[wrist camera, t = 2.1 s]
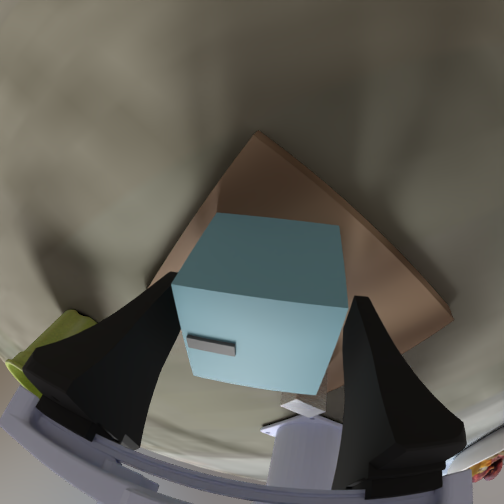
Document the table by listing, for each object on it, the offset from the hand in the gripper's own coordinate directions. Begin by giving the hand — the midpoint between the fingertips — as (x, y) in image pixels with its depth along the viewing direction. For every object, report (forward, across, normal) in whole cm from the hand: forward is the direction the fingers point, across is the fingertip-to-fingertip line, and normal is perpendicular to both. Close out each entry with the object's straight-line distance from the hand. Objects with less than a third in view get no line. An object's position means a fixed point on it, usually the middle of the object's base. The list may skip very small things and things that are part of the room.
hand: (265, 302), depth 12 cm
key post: (+2, -3, +8) cm, 8 cm away
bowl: (+4, -51, +36) cm, 63 cm away
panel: (+4, -1, +3) cm, 5 cm away
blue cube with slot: (+2, 0, 0) cm, 3 cm away
